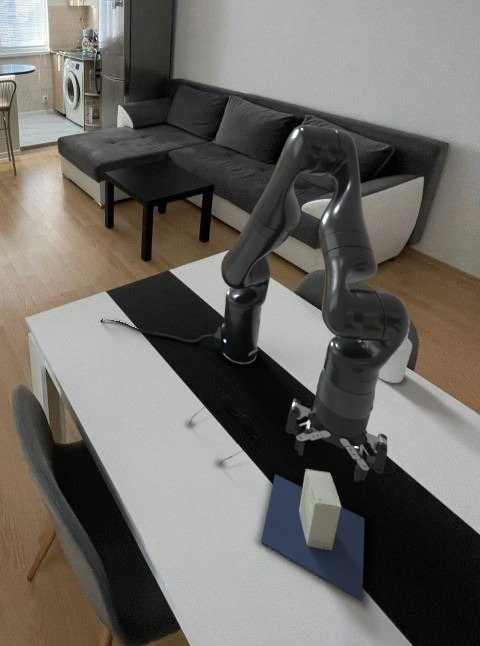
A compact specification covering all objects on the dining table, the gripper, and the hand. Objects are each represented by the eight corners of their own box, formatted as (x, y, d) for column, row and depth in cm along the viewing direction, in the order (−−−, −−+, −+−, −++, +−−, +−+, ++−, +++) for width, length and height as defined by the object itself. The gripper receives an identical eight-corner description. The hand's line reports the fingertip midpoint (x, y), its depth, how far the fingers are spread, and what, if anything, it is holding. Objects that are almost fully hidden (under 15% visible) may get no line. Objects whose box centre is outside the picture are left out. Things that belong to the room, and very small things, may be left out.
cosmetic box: (332, 551, 78) (343, 509, 73) (305, 546, 78) (315, 504, 74) (321, 513, 83) (331, 472, 79) (296, 508, 84) (305, 467, 80)
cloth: (260, 542, 80) (260, 541, 80) (275, 475, 91) (275, 474, 90) (361, 601, 71) (362, 600, 71) (364, 519, 82) (364, 518, 82)
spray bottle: (398, 365, 114) (413, 312, 108) (406, 386, 108) (423, 331, 102) (368, 360, 116) (381, 307, 110) (375, 380, 110) (389, 325, 104)
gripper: (397, 398, 67) (377, 466, 73) (298, 362, 75) (286, 426, 81) (399, 437, 61) (376, 508, 67) (291, 394, 69) (279, 460, 75)
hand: (327, 463), depth 74 cm, fingers open, 8 cm apart
